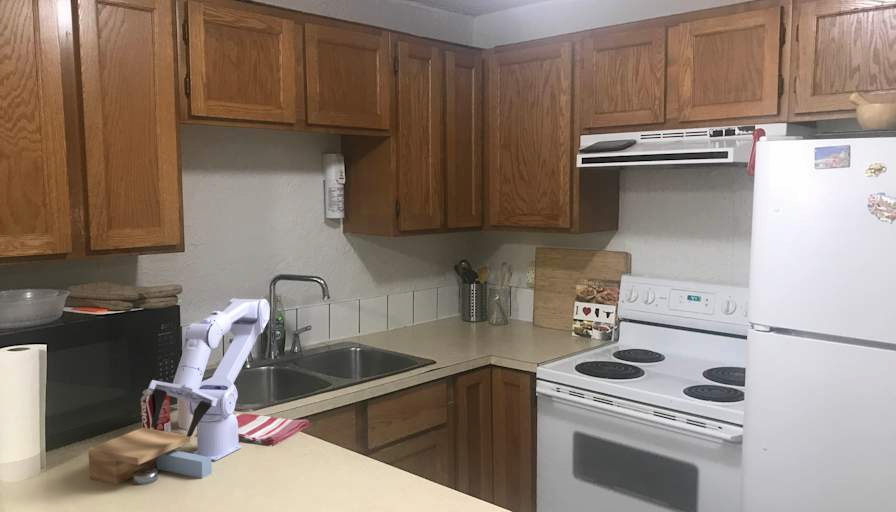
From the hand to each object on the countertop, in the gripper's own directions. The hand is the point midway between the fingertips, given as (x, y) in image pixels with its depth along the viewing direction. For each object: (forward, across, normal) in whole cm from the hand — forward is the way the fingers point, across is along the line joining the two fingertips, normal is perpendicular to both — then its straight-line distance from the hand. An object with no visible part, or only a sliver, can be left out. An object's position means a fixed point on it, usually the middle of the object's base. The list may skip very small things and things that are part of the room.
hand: (171, 430), depth 151 cm
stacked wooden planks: (+5, -1, +16) cm, 17 cm away
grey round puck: (+8, 0, +11) cm, 14 cm away
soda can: (-8, +2, +35) cm, 36 cm away
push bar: (+5, +7, +11) cm, 14 cm away
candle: (-14, +10, +38) cm, 41 cm away
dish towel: (-12, +24, +25) cm, 37 cm away
